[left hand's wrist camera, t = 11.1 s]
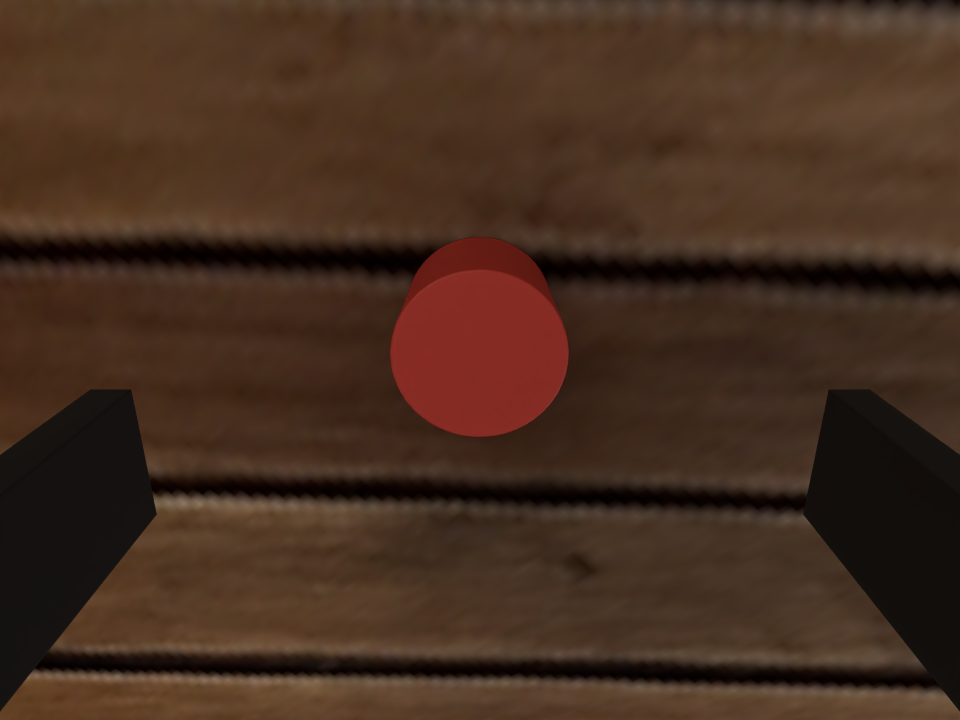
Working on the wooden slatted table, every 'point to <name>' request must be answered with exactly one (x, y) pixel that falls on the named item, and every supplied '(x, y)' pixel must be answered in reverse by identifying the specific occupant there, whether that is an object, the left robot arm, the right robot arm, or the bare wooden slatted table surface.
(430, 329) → the canister
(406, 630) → the wooden slatted table surface
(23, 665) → the left robot arm
